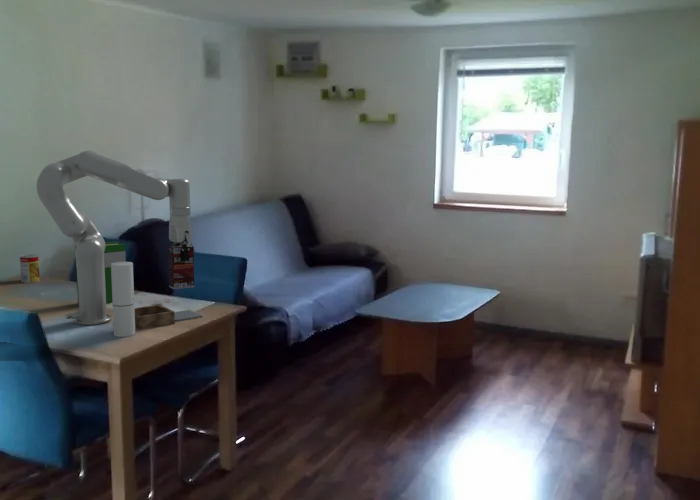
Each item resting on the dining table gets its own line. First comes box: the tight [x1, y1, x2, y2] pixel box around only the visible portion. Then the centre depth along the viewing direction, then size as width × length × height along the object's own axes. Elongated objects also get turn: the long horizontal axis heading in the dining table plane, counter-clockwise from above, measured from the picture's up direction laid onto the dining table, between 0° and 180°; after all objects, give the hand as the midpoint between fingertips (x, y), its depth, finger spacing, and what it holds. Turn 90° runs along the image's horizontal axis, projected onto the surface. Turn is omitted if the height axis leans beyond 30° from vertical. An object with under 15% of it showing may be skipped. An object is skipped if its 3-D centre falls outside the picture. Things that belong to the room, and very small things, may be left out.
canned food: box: [19, 253, 41, 284], centre depth 320 cm, size 8×8×12 cm
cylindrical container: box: [111, 261, 136, 338], centre depth 237 cm, size 7×7×25 cm
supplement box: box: [168, 244, 195, 290], centre depth 260 cm, size 9×5×16 cm, turn 124°
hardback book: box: [74, 241, 127, 305], centre depth 282 cm, size 18×7×24 cm, turn 131°
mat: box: [174, 309, 203, 323], centre depth 263 cm, size 11×11×1 cm
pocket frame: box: [134, 304, 176, 330], centre depth 254 cm, size 13×13×4 cm
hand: (181, 259), depth 260 cm, fingers closed on supplement box, 5 cm apart
